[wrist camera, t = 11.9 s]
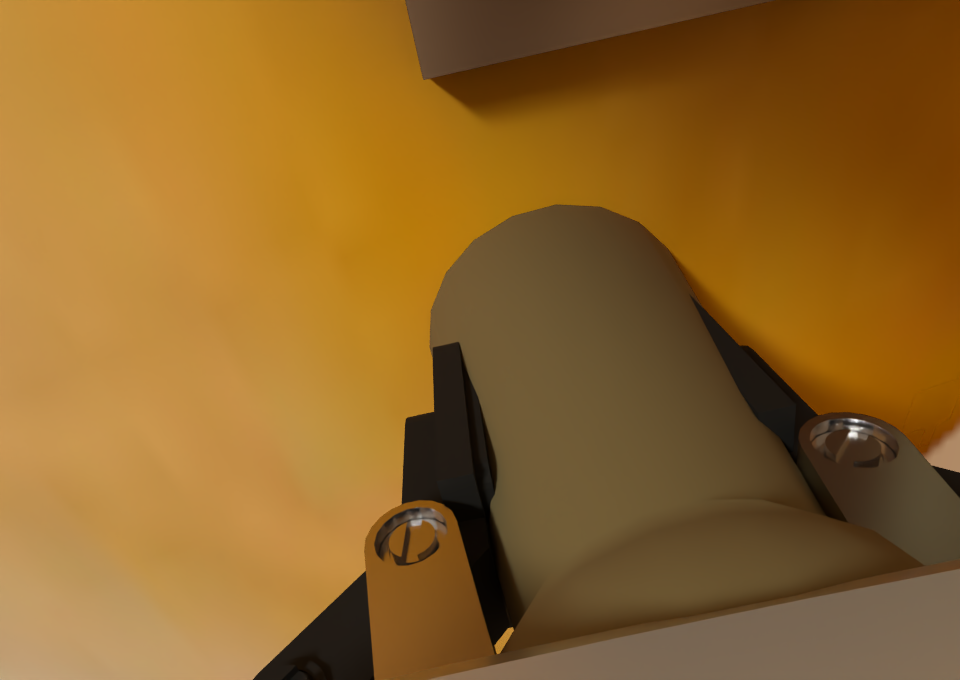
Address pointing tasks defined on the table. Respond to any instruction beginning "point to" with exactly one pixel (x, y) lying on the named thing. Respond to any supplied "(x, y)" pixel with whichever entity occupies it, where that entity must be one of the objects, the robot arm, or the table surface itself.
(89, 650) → the table surface
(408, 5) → the board
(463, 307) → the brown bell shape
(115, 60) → the table surface
